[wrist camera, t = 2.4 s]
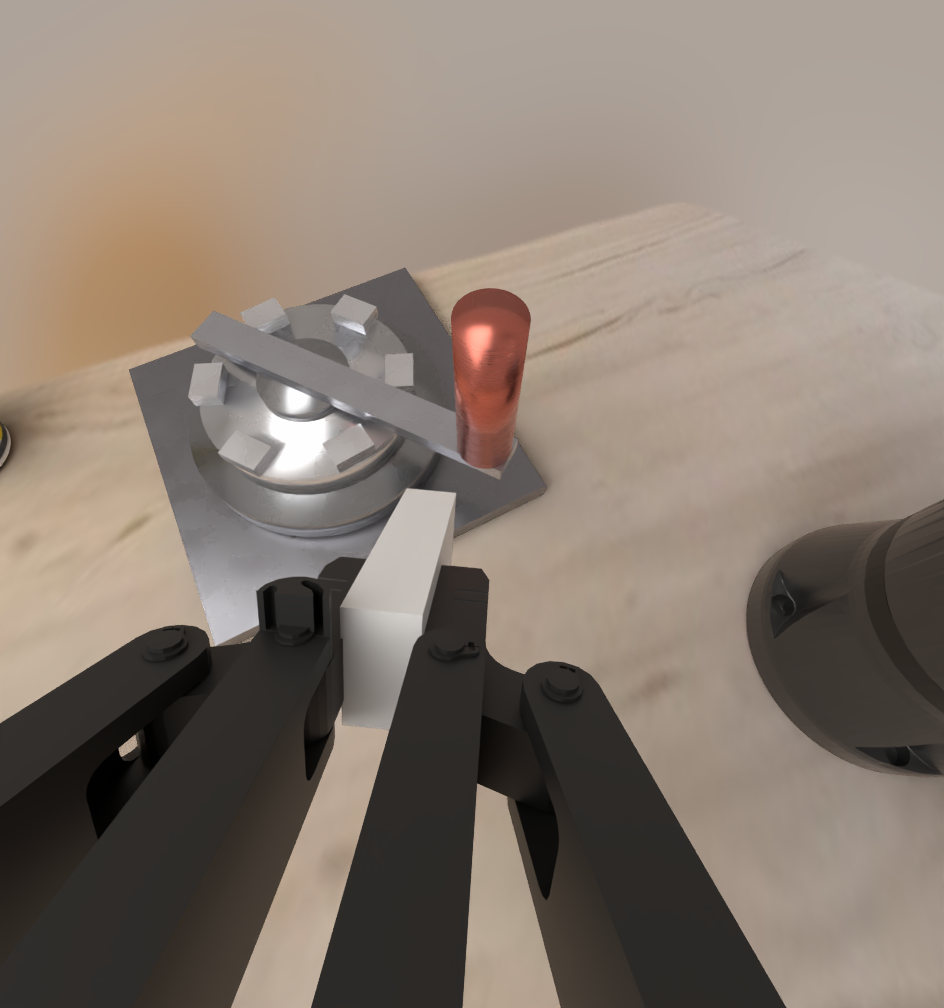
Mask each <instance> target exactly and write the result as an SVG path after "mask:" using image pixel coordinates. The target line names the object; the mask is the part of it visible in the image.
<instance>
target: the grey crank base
mask: <svg viewBox="0 0 944 1008" xmlns="http://www.w3.org/2000/svg"><path fill="white" fill-rule="evenodd" d="M344 294H345V295H348V296H351V297H353V298H356V299H358V300H361V301H363V302H366V303H368V304H371V305H374V306H376V307H377V311H378V316H379V318H378V319H377V320H379V321H380V322H382V323H383V324H384V325H386V326H387V327H388V328H389V329H390V330H391V331H392V332H393V333H394V334H395V335H396V336H397V337H398V338H399V340H400V341H401V343H402V344H403V346H404V347H405V349H406V352H407V353H413V359H414V376H415V390H416V396H417V397H419V398H422V399H424V400H427V401H429V402H431V403H434V404H436V405H438V406H441V407H443V408H446V409H448V410H450V411H453V412H455V413H456V410H455V389H454V368H453V346H452V339H451V338H450V336H449V335H448V333H447V331H446V330H445V328H444V327H443V325H442V324H441V322H440V321H439V319H438V318H437V316H436V314H435V313H434V311H433V310H432V308H431V307H430V305H429V304H428V302H427V301H426V299H425V297H424V296H423V294H422V293H421V291H420V290H419V288H418V287H417V285H416V284H415V282H414V280H413V279H412V277H411V276H410V274H409V273H408V271H407V270H406V268H403V269H400V270H398V271H395V272H392V273H389V274H387V275H384V276H381V277H379V278H376V279H373V280H370V281H368V282H365V283H362V284H360V285H357V286H354V287H351V288H349V289H346V290H343V291H341V292H338V293H335V294H332V295H330V296H327V297H324V298H322V299H319V300H316V301H313V302H311V303H308V304H305V305H313V304H327V305H336V304H337V303H338V302H339V300H340V299H341V298H342V297H343V295H344ZM214 357H215V354H213V353H211V352H209V351H206V350H204V349H202V348H199V347H198V346H197V345H194V346H192V347H189V348H186V349H183V350H181V351H178V352H175V353H173V354H170V355H167V356H165V357H162V358H159V359H156V360H154V361H151V362H148V363H146V364H143V365H140V366H137V367H135V368H132V369H129V372H130V375H131V378H132V382H133V385H134V388H135V391H136V394H137V397H138V401H139V404H140V407H141V410H142V413H143V417H144V420H145V423H146V426H147V429H148V433H149V436H150V439H151V442H152V445H153V449H154V452H155V455H156V458H157V461H158V465H159V468H160V471H161V474H162V477H163V480H164V484H165V487H166V490H167V493H168V496H169V500H170V503H171V506H172V509H173V512H174V516H175V519H176V522H177V525H178V528H179V532H180V535H181V538H182V541H183V544H184V548H185V551H186V554H187V557H188V560H189V564H190V567H191V570H192V573H193V576H194V579H195V583H196V586H197V589H198V592H199V595H200V599H201V602H202V605H203V608H204V611H205V615H206V618H207V621H208V624H209V627H210V631H211V634H212V637H213V640H214V643H215V646H224V645H233V644H238V643H240V642H242V641H244V640H246V639H248V638H250V637H252V636H254V635H256V634H257V633H258V631H259V618H258V607H257V595H256V591H257V590H258V589H259V588H261V587H262V586H263V585H265V584H267V583H269V582H272V581H274V580H277V579H282V578H287V577H310V578H315V579H317V578H318V575H319V574H320V573H321V571H322V570H323V568H324V567H325V566H326V565H327V564H329V563H330V562H332V561H334V560H336V559H337V558H339V557H351V558H361V559H367V558H368V556H369V554H370V553H371V551H372V549H373V547H374V545H375V544H376V542H377V540H378V538H379V537H380V535H381V533H382V531H383V529H384V528H385V526H386V524H387V522H388V521H389V519H390V517H391V515H392V513H393V512H394V510H395V508H396V506H397V505H398V503H399V501H400V499H401V497H402V496H403V494H404V492H405V490H406V489H407V488H409V489H419V490H430V491H441V492H451V493H456V504H455V518H454V533H453V538H455V537H457V536H459V535H461V534H463V533H465V532H467V531H469V530H471V529H473V528H475V527H477V526H479V525H481V524H483V523H485V522H487V521H489V520H492V519H494V518H496V517H498V516H500V515H502V514H504V513H506V512H508V511H510V510H512V509H514V508H516V507H518V506H520V505H522V504H524V503H526V502H528V501H530V500H532V499H534V498H537V497H539V496H541V495H543V493H544V490H545V487H546V485H545V483H544V482H543V480H542V478H541V477H540V475H539V474H538V472H537V471H536V469H535V468H534V466H533V464H532V463H531V461H530V460H529V458H528V457H527V455H526V454H525V452H524V451H523V449H522V447H521V446H520V444H519V443H517V448H516V450H515V452H514V454H513V456H512V458H511V460H510V461H509V463H508V465H507V467H506V469H505V471H504V473H503V475H502V477H501V479H497V478H495V477H493V476H490V475H488V474H486V473H484V472H481V471H479V470H477V469H475V468H472V467H470V466H468V465H465V464H463V463H461V462H459V461H456V460H454V459H452V458H450V457H447V456H445V455H443V454H440V453H438V452H436V451H434V450H431V449H429V448H427V447H425V446H422V445H420V444H418V443H415V442H413V441H411V440H409V439H406V440H405V442H404V444H403V445H402V447H401V448H400V449H399V451H398V452H397V453H396V455H395V456H394V457H393V458H392V459H391V460H390V461H389V462H388V463H387V464H386V465H384V466H383V467H382V468H381V469H380V470H378V471H377V472H376V473H374V474H372V475H371V476H369V477H368V478H366V479H365V480H362V481H360V482H358V483H356V484H354V485H352V486H349V487H346V488H344V489H341V490H337V491H333V492H329V493H324V494H315V495H293V494H285V493H280V492H277V491H273V490H269V489H267V488H264V487H262V486H259V485H257V484H256V483H254V482H252V481H250V480H249V479H247V478H246V477H245V476H243V475H242V474H241V473H240V472H238V471H237V470H236V468H235V467H234V466H233V465H232V464H231V463H228V462H226V461H225V460H224V459H223V458H222V457H221V456H220V455H219V454H218V452H219V450H218V449H217V447H216V446H215V445H214V444H213V443H212V441H211V439H210V438H209V436H208V435H207V433H206V430H205V428H204V426H203V423H202V419H201V415H200V406H195V404H194V403H193V402H192V401H191V400H190V399H189V397H188V395H189V390H190V385H191V379H192V374H193V369H194V364H202V363H211V362H212V360H213V358H214ZM514 438H515V437H514Z"/></svg>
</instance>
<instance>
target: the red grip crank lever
mask: <svg viewBox="0 0 944 1008" xmlns="http://www.w3.org/2000/svg"><path fill="white" fill-rule="evenodd" d="M240 314H241V316H242V318H243V320H244V322H245V323H246V324H244V323H241V322H239V321H237V320H234V319H232V318H230V317H227V316H225V315H222V314H220V313H217V312H215V311H213V312H212V313H211V314H210V315H209V317H207V319H206V320H205V321H204V322H203V323H202V324H201V325H200V326H199V327H198V328H197V329H196V331H195V332H194V333H193V334H192V335H191V338H192V339H193V341H194V342H195V343H196V345H197V346H198V347H199V348H202V349H204V350H206V351H209V352H211V353H213V354H215V357H214V358H213V360H212V362H211V363H202V364H194V369H193V374H192V379H191V385H190V390H189V395H188V397H189V399H190V400H191V401H192V402H193V403H194V404H195V406H200V415H201V419H202V423H203V426H204V428H205V430H206V433H207V435H208V436H209V438H210V439H211V441H212V443H213V444H214V445H215V446H216V447H217V449H218V450H219V452H218V454H219V455H220V456H221V457H222V458H223V459H224V460H225V461H226V462H228V463H231V464H232V465H233V466H234V467H235V468H236V470H237V471H238V472H240V473H241V474H242V475H243V476H245V477H246V478H247V479H249V480H250V481H252V482H254V483H256V484H257V485H259V486H262V487H264V488H267V489H269V490H273V491H277V492H280V493H285V494H293V495H315V494H324V493H329V492H333V491H337V490H341V489H344V488H346V487H349V486H352V485H354V484H356V483H358V482H360V481H362V480H365V479H366V478H368V477H369V476H371V475H372V474H374V473H376V472H377V471H378V470H380V469H381V468H382V467H383V466H384V465H386V464H387V463H388V462H389V461H390V460H391V459H392V458H393V457H394V456H395V455H396V453H397V452H398V451H399V449H400V448H401V447H402V445H403V444H404V442H405V440H406V439H409V440H411V441H413V442H415V443H418V444H420V445H422V446H425V447H427V448H429V449H431V450H434V451H436V452H438V453H440V454H443V455H445V456H447V457H450V458H452V459H454V460H456V461H459V462H461V463H463V464H465V465H468V466H470V467H472V468H475V469H477V470H479V471H481V472H484V473H486V474H488V475H490V476H493V477H495V478H497V479H501V477H502V475H503V473H504V471H505V469H506V467H507V465H508V463H509V461H510V460H511V458H512V456H513V454H514V452H515V450H516V448H517V443H518V439H517V438H514V431H515V424H516V417H517V410H518V403H519V397H520V390H521V383H522V376H523V370H524V363H525V356H526V349H527V342H528V336H529V329H530V321H531V317H530V312H529V310H528V308H527V306H526V304H525V303H524V302H523V301H522V300H521V299H520V298H519V297H517V296H516V295H514V294H512V293H510V292H508V291H505V290H501V289H494V288H487V289H480V290H476V291H473V292H470V293H468V294H467V295H465V296H463V297H462V298H461V299H460V300H459V301H458V302H457V303H456V305H455V306H454V308H453V311H452V315H451V325H452V346H453V368H454V389H455V410H456V413H455V412H453V411H450V410H448V409H446V408H443V407H441V406H438V405H436V404H434V403H431V402H429V401H427V400H424V399H422V398H419V397H417V396H416V390H415V376H414V359H413V353H407V352H406V349H405V347H404V346H403V344H402V343H401V341H400V340H399V338H398V337H397V336H396V335H395V334H394V333H393V332H392V331H391V330H390V329H389V328H388V327H387V326H386V325H384V324H383V323H382V322H380V321H379V320H377V319H378V318H379V316H378V311H377V307H376V306H374V305H371V304H368V303H366V302H363V301H361V300H358V299H356V298H353V297H351V296H348V295H345V294H344V295H343V297H342V298H341V299H340V300H339V302H338V303H337V304H336V305H327V304H313V305H302V306H296V307H291V308H287V309H282V307H281V306H280V305H279V303H278V302H277V300H276V299H275V297H274V298H272V299H270V300H268V301H265V302H263V303H261V304H259V305H256V306H254V307H252V308H250V309H248V310H245V311H243V312H241V313H240Z"/></svg>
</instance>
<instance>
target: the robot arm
mask: <svg viewBox="0 0 944 1008" xmlns="http://www.w3.org/2000/svg"><path fill="white" fill-rule="evenodd" d="M455 504H456V493H451V492H441V491H430V490H419V489H409V488H407V489H406V490H405V492H404V494H403V496H402V497H401V499H400V501H399V503H398V505H397V506H396V508H395V510H394V512H393V513H392V515H391V517H390V519H389V521H388V522H387V524H386V526H385V528H384V529H383V531H382V533H381V535H380V537H379V538H378V540H377V542H376V544H375V545H374V547H373V549H372V551H371V553H370V554H369V556H368V558H367V559H361V558H351V557H339V558H337V559H336V560H334V561H332V562H330V563H329V564H327V565H326V566H325V567H324V568H323V570H322V571H321V573H320V574H319V575H318V578H317V579H315V578H310V577H287V578H282V579H277V580H274V581H272V582H269V583H267V584H265V585H263V586H262V587H261V588H259V589H258V590H257V591H256V595H257V607H258V618H259V631H258V633H257V634H256V635H255V637H254V638H253V639H252V640H251V642H247V643H241V644H233V645H224V646H214V647H210V643H209V638H208V636H207V634H206V632H205V631H203V630H201V629H199V628H198V627H194V626H187V625H175V626H166V627H163V628H159V629H156V630H152V631H149V632H147V633H145V634H143V635H141V636H139V637H137V638H135V639H134V640H132V641H130V642H129V643H127V644H126V645H124V646H122V647H121V648H119V649H118V650H116V651H115V652H113V653H111V654H110V655H108V656H107V657H105V658H103V659H102V660H100V661H99V662H97V663H95V664H94V665H92V666H91V667H89V668H87V669H86V670H84V671H83V672H81V673H80V674H78V675H76V676H75V677H73V678H72V679H70V680H68V681H67V682H65V683H64V684H62V685H60V686H59V687H57V688H56V689H54V690H53V691H51V692H49V693H48V694H46V695H45V696H43V697H41V698H40V699H38V700H37V701H35V702H33V703H32V704H30V705H29V706H27V707H25V708H24V709H22V710H21V711H19V712H18V713H16V714H14V715H13V716H11V717H10V718H8V719H6V720H5V721H3V722H2V723H0V1008H231V1006H232V1003H233V1001H234V998H235V996H236V993H237V990H238V988H239V985H240V983H241V980H242V978H243V975H244V973H245V970H246V968H247V965H248V963H249V960H250V957H251V955H252V952H253V950H254V947H255V945H256V942H257V940H258V937H259V935H260V932H261V929H262V927H263V924H264V922H265V919H266V917H267V914H268V912H269V909H270V907H271V904H272V901H273V899H274V896H275V894H276V891H277V889H278V886H279V884H280V881H281V879H282V876H283V873H284V871H285V868H286V866H287V863H288V861H289V858H290V856H291V853H292V851H293V848H294V846H295V843H296V840H297V838H298V835H299V833H300V830H301V828H302V825H303V823H304V820H305V818H306V815H307V812H308V810H309V807H310V805H311V802H312V800H313V797H314V795H315V792H316V790H317V787H318V784H319V782H320V779H321V777H322V774H323V772H324V769H325V767H326V764H327V762H328V759H329V757H330V754H331V751H332V749H333V746H334V739H335V726H334V722H335V720H336V717H337V715H338V713H339V710H340V708H341V705H342V725H348V726H358V727H367V728H376V729H385V730H389V734H388V737H387V741H386V744H385V748H384V751H383V755H382V758H381V762H380V765H379V769H378V773H377V776H376V780H375V783H374V787H373V790H372V794H371V797H370V801H369V804H368V808H367V812H366V815H365V819H364V822H363V826H362V829H361V833H360V836H359V840H358V843H357V847H356V850H355V854H354V858H353V861H352V865H351V868H350V872H349V875H348V879H347V882H346V886H345V889H344V893H343V897H342V900H341V904H340V907H339V911H338V914H337V918H336V921H335V925H334V928H333V932H332V935H331V939H330V943H329V946H328V950H327V953H326V957H325V960H324V964H323V967H322V971H321V974H320V978H319V982H318V985H317V989H316V992H315V996H314V999H313V1003H312V1006H311V1008H462V1007H463V991H464V976H465V961H466V945H467V930H468V915H469V899H470V884H471V869H472V853H473V838H474V823H475V807H476V792H477V783H478V784H480V785H482V786H485V787H487V788H489V789H491V790H494V791H496V792H498V793H501V794H503V795H505V796H507V800H508V807H509V811H510V815H511V819H512V823H513V827H514V830H515V834H516V838H517V842H518V846H519V849H520V853H521V857H522V861H523V865H524V869H525V872H526V876H527V880H528V884H529V888H530V891H531V895H532V899H533V903H534V907H535V911H536V914H537V918H538V922H539V926H540V930H541V934H542V937H543V941H544V945H545V949H546V953H547V956H548V960H549V964H550V968H551V972H552V976H553V979H554V983H555V987H556V991H557V995H558V998H559V1002H560V1006H561V1008H786V1006H785V1005H784V1003H783V1001H782V999H781V998H780V996H779V994H778V992H777V991H776V989H775V987H774V986H773V984H772V982H771V980H770V979H769V977H768V975H767V974H766V972H765V970H764V968H763V967H762V965H761V963H760V961H759V960H758V958H757V956H756V955H755V953H754V951H753V949H752V948H751V946H750V944H749V942H748V941H747V939H746V937H745V936H744V934H743V932H742V930H741V929H740V927H739V925H738V924H737V922H736V920H735V918H734V917H733V915H732V913H731V911H730V910H729V908H728V906H727V905H726V903H725V901H724V899H723V898H722V896H721V894H720V893H719V891H718V889H717V887H716V886H715V884H714V882H713V880H712V879H711V877H710V875H709V874H708V872H707V870H706V868H705V867H704V865H703V863H702V861H701V860H700V858H699V856H698V855H697V853H696V851H695V849H694V848H693V846H692V844H691V843H690V841H689V839H688V837H687V836H686V834H685V832H684V830H683V829H682V827H681V825H680V824H679V822H678V820H677V818H676V817H675V815H674V813H673V812H672V810H671V808H670V806H669V805H668V803H667V801H666V799H665V798H664V796H663V794H662V793H661V791H660V789H659V787H658V786H657V784H656V782H655V781H654V779H653V777H652V775H651V774H650V772H649V770H648V768H647V767H646V765H645V763H644V762H643V760H642V758H641V756H640V755H639V753H638V751H637V749H636V748H635V746H634V744H633V743H632V741H631V739H630V737H629V736H628V734H627V732H626V731H625V729H624V727H623V725H622V724H621V722H620V720H619V718H618V717H617V715H616V713H615V712H614V710H613V708H612V706H611V705H610V703H609V701H608V700H607V698H606V696H605V694H604V693H603V691H602V689H601V687H600V686H599V684H598V683H597V682H596V681H595V680H594V678H593V677H592V676H591V675H590V674H588V673H587V672H585V671H584V670H582V669H580V668H579V667H576V666H573V665H570V664H567V663H564V662H552V661H549V662H544V663H539V664H536V665H534V666H533V667H531V668H530V669H528V670H527V672H526V674H522V673H519V672H516V671H513V670H511V669H509V668H506V667H504V666H503V665H501V664H500V663H498V662H497V661H495V660H494V659H493V657H492V656H491V655H490V654H489V652H488V650H487V648H486V643H485V639H486V623H487V607H488V592H489V579H488V577H487V576H486V575H485V573H484V572H483V570H482V569H478V568H468V567H458V566H451V561H452V547H453V533H454V518H455ZM747 632H748V639H749V644H750V648H751V652H752V655H753V658H754V661H755V664H756V667H757V669H758V671H759V674H760V676H761V678H762V680H763V682H764V684H765V685H766V687H767V689H768V690H769V692H770V694H771V695H772V697H773V698H774V700H775V701H776V703H777V704H778V705H779V707H780V708H781V709H782V710H783V712H784V713H785V714H786V715H787V716H788V717H789V719H790V720H791V721H792V722H793V723H794V724H795V725H796V726H797V727H798V728H799V729H800V730H802V731H803V732H804V733H805V734H806V735H807V736H808V737H810V738H811V739H812V740H813V741H815V742H816V743H817V744H819V745H820V746H822V747H823V748H825V749H826V750H828V751H829V752H831V753H833V754H834V755H836V756H838V757H840V758H842V759H844V760H846V761H848V762H850V763H853V764H855V765H858V766H860V767H863V768H867V769H870V770H874V771H878V772H883V773H889V774H898V775H907V776H918V777H942V776H944V500H942V501H939V502H937V503H935V504H933V505H931V506H929V507H927V508H925V509H923V510H921V511H919V512H917V513H915V514H913V515H911V516H909V517H907V518H905V519H901V520H890V521H879V522H868V523H857V524H846V525H838V526H832V527H827V528H824V529H821V530H817V531H814V532H812V533H809V534H807V535H805V536H803V537H801V538H799V539H798V540H796V541H794V542H792V543H791V544H789V545H787V546H785V547H784V548H782V549H781V550H779V551H778V552H777V553H775V554H774V555H773V556H772V557H771V558H770V559H769V560H768V561H767V562H766V563H765V565H764V566H763V567H762V569H761V570H760V572H759V573H758V575H757V577H756V579H755V581H754V583H753V586H752V589H751V592H750V596H749V600H748V606H747ZM134 735H136V740H137V745H138V746H137V747H136V748H135V749H134V750H133V751H131V752H130V753H128V754H126V755H125V756H123V757H121V756H120V754H119V749H118V748H119V747H120V746H122V745H123V744H124V743H125V742H126V741H128V740H129V739H130V738H131V737H133V736H134Z"/></svg>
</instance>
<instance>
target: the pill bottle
mask: <svg viewBox="0 0 944 1008" xmlns="http://www.w3.org/2000/svg"><path fill="white" fill-rule="evenodd" d="M10 446H11V439H10V434H9V432H8V430H7V428H6V427H5V426H4V425H3V424H2V423H1V422H0V467H1V466H2V464H3V463H4V461H5V460H6V458H7V456H8V454H9V451H10Z"/></svg>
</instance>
